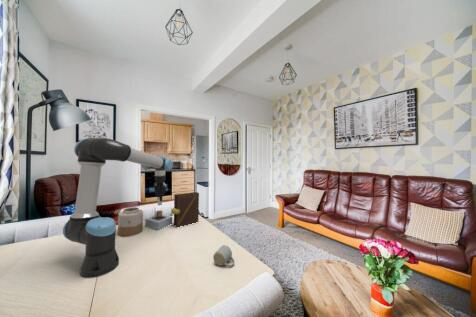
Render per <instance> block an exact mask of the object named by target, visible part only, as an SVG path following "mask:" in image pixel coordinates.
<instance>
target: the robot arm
mask: <svg viewBox="0 0 476 317" xmlns="http://www.w3.org/2000/svg"><path fill="white" fill-rule="evenodd" d="M73 152H74V154H75V155H76V156H77V163H78V164H79V166H80V170H79V178H78V185H77V191H76V198H75V199H76V200H75V207H74V212H73V213H72V214H71V215H69V219H68V221H67V222H65V223H64V225H63V228H62V234H63V236H64V238H65V239H67V240H69V241H70V242H73V243H77V244H81V245H85V255H84V259H83V261H82V264H81V266H80V267H79V268H80V269H79V275H80V276H81V277H82V278H97V277H100V276H103V275H105V274H108V273H110V272H112V271H113V270H115V269H116V268H117V267H118V266H119V263H120V257H119V255H118V253H117V249H116V233H117V226H116V225H117V224H116V220H115V219H114V218H113V217H108V216H106V217H102V216H100V213H99V212H98V211H97V205H98V198H99V197H98V196H99V189H100V183H101V182H100V181H101V174H102V167H103V166H105V165H106V162H107V161H116V162H121V163H122V162H131V163H134V164H139V165H141V168H142V169H144V170H154V175H155V177H154V181H155V182H154V183H153V184H152V185H153V188H154V194H155V197H157V200H156V201H157V206H161V205H162V204H163V197H165V196H166V190H167V187H168V185H167V184H166V182H165V180H166V171H171V170H172V169H173V167H174V162H173V160H172V159H166V156H164V155H153V154H150V153H147V152H144V151H141V150H139V149H135V148H132V147H131V146H130V145H129V144H126V143H122V142H120V141H118V140H114V139H112V138H108V137H87V138H81V140H79V141H78V142H77V143H76V144H75V145H74V151H73Z"/></svg>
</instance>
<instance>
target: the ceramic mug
mask: <svg viewBox="0 0 476 317" xmlns="http://www.w3.org/2000/svg"><path fill="white" fill-rule="evenodd" d="M212 259H213V262H214V263H215V264H216V266H220V267H221V266H224V265H225V266H226V267H227V268H232V267H234V264H235V259H234V258H233V251H232V249H231V248H230V247H229V245H226V244H225V245H224V244H223V245H221V246H220V247H219V248H218V250H216V251H215V252H214V254H213V258H212ZM228 261H231V262H232V264H229V263H227V262H228Z"/></svg>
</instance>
